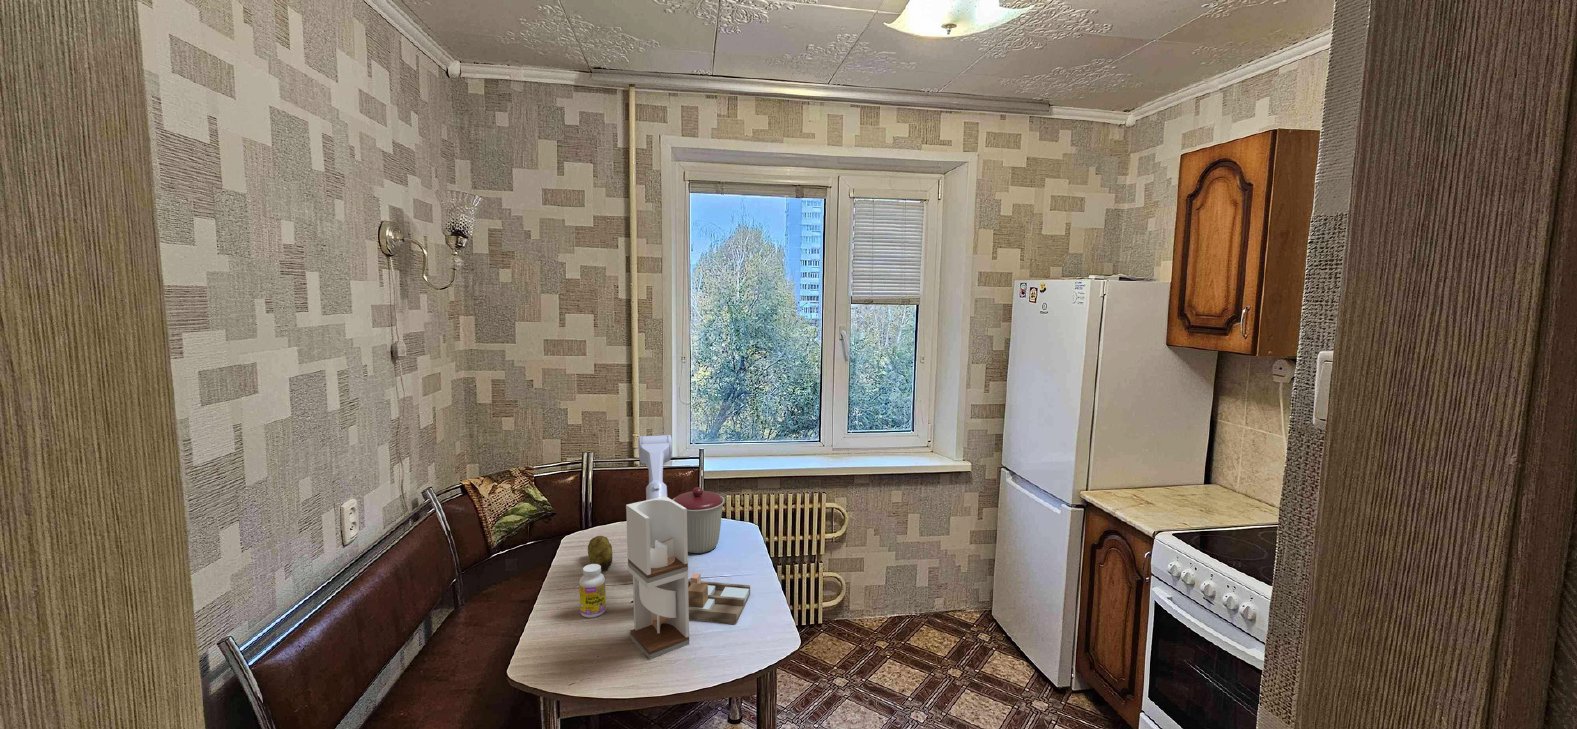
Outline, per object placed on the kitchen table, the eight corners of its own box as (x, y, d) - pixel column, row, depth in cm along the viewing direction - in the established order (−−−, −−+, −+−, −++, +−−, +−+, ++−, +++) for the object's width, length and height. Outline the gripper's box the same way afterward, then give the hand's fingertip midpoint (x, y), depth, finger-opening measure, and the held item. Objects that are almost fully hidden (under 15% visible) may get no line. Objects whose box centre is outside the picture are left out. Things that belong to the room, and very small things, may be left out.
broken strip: (689, 598, 174) (689, 580, 173) (695, 589, 179) (695, 571, 178) (744, 603, 171) (744, 584, 170) (749, 593, 176) (748, 575, 176)
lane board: (657, 616, 166) (656, 606, 166) (677, 588, 182) (677, 579, 181) (736, 624, 162) (736, 614, 162) (750, 594, 178) (750, 585, 178)
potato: (584, 574, 190) (583, 549, 189) (589, 556, 203) (588, 533, 202) (611, 572, 192) (611, 547, 191) (615, 554, 204) (615, 531, 203)
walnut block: (687, 606, 166) (686, 590, 166) (692, 598, 171) (692, 582, 170) (703, 608, 165) (702, 592, 165) (708, 599, 170) (707, 584, 169)
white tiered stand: (630, 638, 156) (626, 504, 151) (668, 624, 162) (665, 496, 158) (649, 659, 147) (645, 518, 142) (689, 644, 153) (686, 508, 149)
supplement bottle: (582, 621, 163) (580, 575, 162) (578, 609, 169) (576, 565, 168) (608, 615, 167) (606, 570, 165) (603, 604, 172) (601, 560, 171)
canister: (735, 544, 213) (735, 485, 211) (701, 563, 198) (700, 500, 195) (695, 533, 223) (695, 476, 220) (660, 550, 208) (659, 490, 205)
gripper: (627, 553, 165) (628, 601, 167) (678, 557, 163) (679, 606, 165) (637, 543, 172) (639, 588, 174) (687, 546, 170) (688, 593, 172)
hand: (659, 596), depth 170 cm, fingers closed
